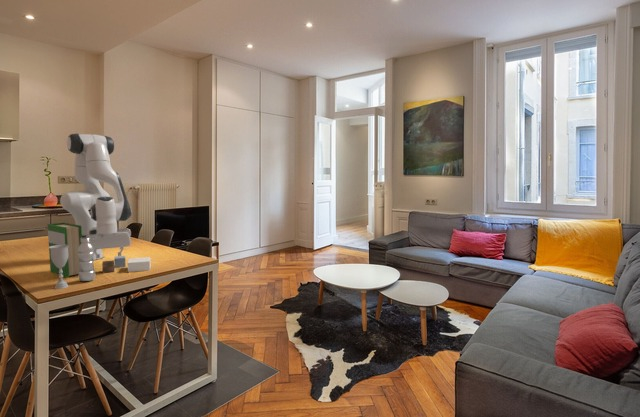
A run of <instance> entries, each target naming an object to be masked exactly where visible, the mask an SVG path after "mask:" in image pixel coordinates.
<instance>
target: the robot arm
mask: <svg viewBox="0 0 640 417" xmlns="http://www.w3.org/2000/svg"><path fill="white" fill-rule="evenodd" d="M66 147H67V149H68V151H69V152H70V153H73V154H75V157H74V178H75V181H76V182H78V183H79V184H81V185H83V187H84V190H72V191H68V192H64V193H62V195H61V197H60V198H59V199H60V200H59V202H60V206H61V207H62V208H63V209H64V210H65V211H67V212H68V213H70V214H71V216H72V218H74V221H75V222H74V223H75V225H80V226H81V227H82V238H83V237H90V243H91V244H92V245H93V247H94V256H93V261H95V260H100V259H102V258H104V257H105V256H104V253H103V249H104V250H105V249H112V248H113V249H116V248H119V249H120V250H119V252H117V256H122V252H123V251H124V248H125V247H131V245H132V242H131V236H132V231H131V229H129V228H126V227H125V228H118V222H123V221H124V222H125V221H126V222H127V220H129V219H130V218H131V217H132V211H133V210H132V207H131V205H130V203H129V200H128V197H127V194H126V192H125V188H124V184H123V182H122V179H121V176H120V175H119V173H118V172H116V171H115V170H114V169H113V168H112V165H111V159H110V155H111V154H113V152H114V151H115V141H114V140H113V138H112V137H111V136H108V135H99V134H93V133H90V134H89V133H88V134H87V133H70V135H68V137H67V139H66ZM100 182H102V183H106V184H108V185H110V186H112V187H113V189H114V192H115V196H116V198H117V202H115V199H114V197H111V195H110V193H108V192H107V191H106V190H105V189H104V188H103V187H102V185H101V183H100ZM89 210H90V212H89Z"/></svg>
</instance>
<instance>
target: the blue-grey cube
mask: <svg viewBox="0 0 640 417" xmlns="http://www.w3.org/2000/svg"><path fill="white" fill-rule="evenodd" d="M113 260H114V268H115V269H116V268H126V266H127V265H126V263H127V262H126V255H121V256H118V255H117V256H116V255H115V256H114V259H113Z"/></svg>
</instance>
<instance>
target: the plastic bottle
mask: <svg viewBox="0 0 640 417" xmlns="http://www.w3.org/2000/svg"><path fill="white" fill-rule="evenodd" d="M80 240H81V241H80V242H81V244H80V246H79V247H78V250H77V251H78V256H79V261H80V262H79V263H80V266H79V274H77V275H78V280H79V281H81V282H90V281H93V280H95V278H96V271H95V266H94V260H93V256H94V247H93V245H92V244H91V243H90V237H83V238H80Z"/></svg>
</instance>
